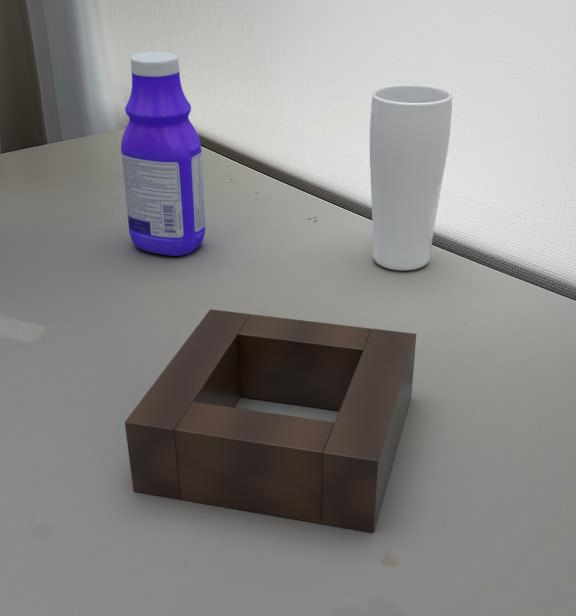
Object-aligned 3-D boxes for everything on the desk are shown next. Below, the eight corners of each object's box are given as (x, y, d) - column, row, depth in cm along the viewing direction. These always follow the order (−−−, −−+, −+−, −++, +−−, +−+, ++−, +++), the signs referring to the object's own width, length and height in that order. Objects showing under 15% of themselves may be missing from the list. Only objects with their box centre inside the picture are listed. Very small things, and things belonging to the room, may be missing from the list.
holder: (133, 491, 52) (124, 422, 49) (213, 370, 64) (209, 308, 61) (373, 533, 48) (378, 461, 46) (411, 396, 60) (416, 333, 58)
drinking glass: (450, 256, 81) (467, 90, 73) (417, 282, 76) (430, 108, 68) (386, 241, 84) (395, 80, 76) (350, 265, 79) (355, 96, 71)
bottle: (216, 241, 84) (206, 52, 75) (187, 263, 80) (172, 65, 70) (152, 230, 87) (135, 46, 77) (120, 250, 82) (98, 58, 73)
